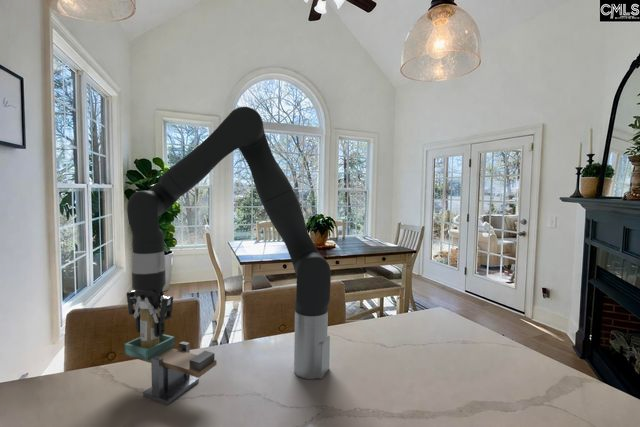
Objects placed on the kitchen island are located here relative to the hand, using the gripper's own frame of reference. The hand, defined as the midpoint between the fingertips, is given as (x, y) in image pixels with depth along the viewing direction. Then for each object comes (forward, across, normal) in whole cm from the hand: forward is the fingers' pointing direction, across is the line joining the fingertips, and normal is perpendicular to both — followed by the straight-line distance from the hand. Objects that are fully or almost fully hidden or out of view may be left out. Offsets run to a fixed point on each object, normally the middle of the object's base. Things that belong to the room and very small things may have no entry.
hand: (150, 333), depth 83 cm
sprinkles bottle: (+5, 0, 0) cm, 5 cm away
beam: (+5, -7, 0) cm, 9 cm away
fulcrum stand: (+13, -7, 0) cm, 15 cm away
